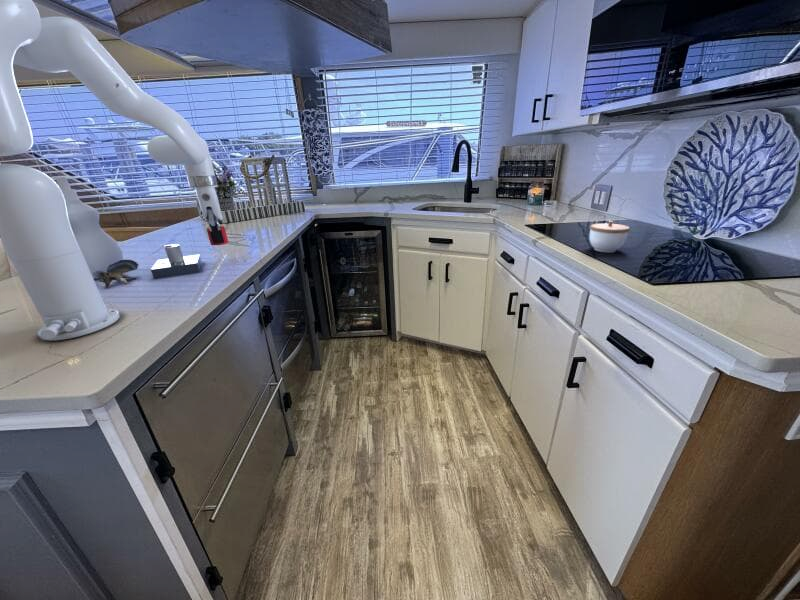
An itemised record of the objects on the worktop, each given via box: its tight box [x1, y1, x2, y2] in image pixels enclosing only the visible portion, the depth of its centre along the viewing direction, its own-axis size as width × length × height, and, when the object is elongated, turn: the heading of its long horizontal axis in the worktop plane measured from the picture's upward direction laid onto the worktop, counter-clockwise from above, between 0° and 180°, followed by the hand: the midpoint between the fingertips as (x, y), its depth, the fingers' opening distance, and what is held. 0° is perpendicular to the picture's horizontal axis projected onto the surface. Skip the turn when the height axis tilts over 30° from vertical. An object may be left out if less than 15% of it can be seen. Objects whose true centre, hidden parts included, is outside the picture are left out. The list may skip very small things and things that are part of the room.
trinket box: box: [588, 220, 631, 253], centre depth 104 cm, size 11×11×9 cm
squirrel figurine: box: [93, 259, 139, 289], centre depth 92 cm, size 8×7×9 cm
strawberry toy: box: [206, 223, 229, 246], centre depth 104 cm, size 5×5×6 cm
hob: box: [150, 254, 203, 280], centre depth 102 cm, size 12×12×3 cm
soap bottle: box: [50, 175, 124, 280], centre depth 96 cm, size 17×12×29 cm
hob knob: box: [163, 243, 184, 263], centre depth 101 cm, size 4×4×5 cm
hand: (218, 240), depth 105 cm, fingers closed on strawberry toy, 5 cm apart
